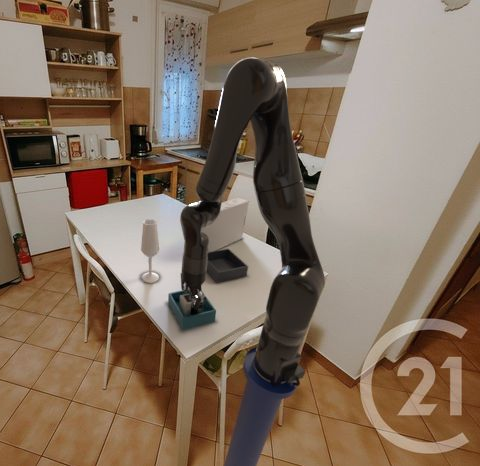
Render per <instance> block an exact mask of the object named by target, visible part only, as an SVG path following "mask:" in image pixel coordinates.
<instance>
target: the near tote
mask: <svg viewBox="0 0 480 466" xmlns="http://www.w3.org/2000/svg"><path fill="white" fill-rule="evenodd" d="M183 292H184V290H182V289H181V290H176V291H173V292H169V293H168V299H167V304H168V305H169V308H170V310H171V312H172V313H173V315H174V318H175V320H176V321H177V323H178V325H179V327H180V329H181V331H184V330H188V329H192V328H196V327H200V326H203V325H207V324H210V323H215V322H216V315H217V310H216V308H215V307H214V305H213V304H212V303H211V301H210V300H209V298H207V296H206V295H205V293H204V292H203V291H202V292H201V293H202V295H203V296H206V301H205V304H204V306H203V308H202V312H201V313H200V314H196V315H192V316H188V317H184V316H183V314H182V312H181V310H180V309H179V303H180V295H184V293H183Z"/></svg>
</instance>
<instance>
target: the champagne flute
mask: <svg viewBox="0 0 480 466" xmlns="http://www.w3.org/2000/svg"><path fill="white" fill-rule="evenodd" d="M159 241H160V240H159V231H158V221H157V220H156V219H152V218H150V219H149V218H147V219H144V220H143V222H142V233H141V244H140V245H141V246H140V250H141V253H142V254H143V255H144V256H146V257H148V272H146V273H143V274H142V276H141V280H142V281H143V282H145V283H149V284H152V283H156V282H157V281H159V279H160V276H159V275H158V274H157V273H156V272H153V257H155V256H156V255H157V254H158V253H159V252H160V242H159Z"/></svg>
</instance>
